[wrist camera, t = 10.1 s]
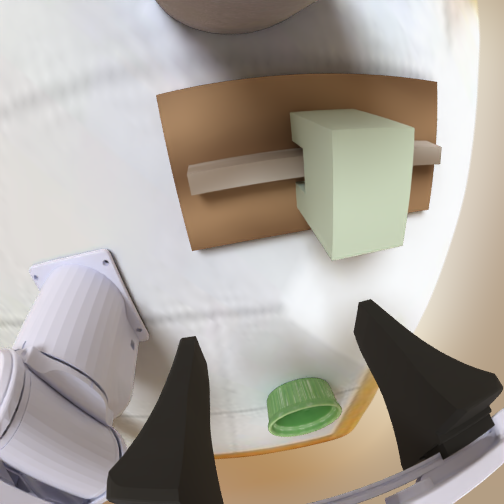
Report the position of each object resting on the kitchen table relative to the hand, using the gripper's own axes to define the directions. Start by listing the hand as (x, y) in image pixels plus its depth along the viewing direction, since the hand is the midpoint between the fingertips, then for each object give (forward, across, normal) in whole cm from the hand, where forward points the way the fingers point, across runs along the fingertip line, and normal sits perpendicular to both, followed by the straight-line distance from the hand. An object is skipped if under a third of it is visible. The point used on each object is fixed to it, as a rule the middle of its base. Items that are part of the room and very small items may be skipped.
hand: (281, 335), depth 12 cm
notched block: (+8, -5, -5) cm, 11 cm away
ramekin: (+10, -3, +24) cm, 26 cm away
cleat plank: (+9, -5, -5) cm, 12 cm away
